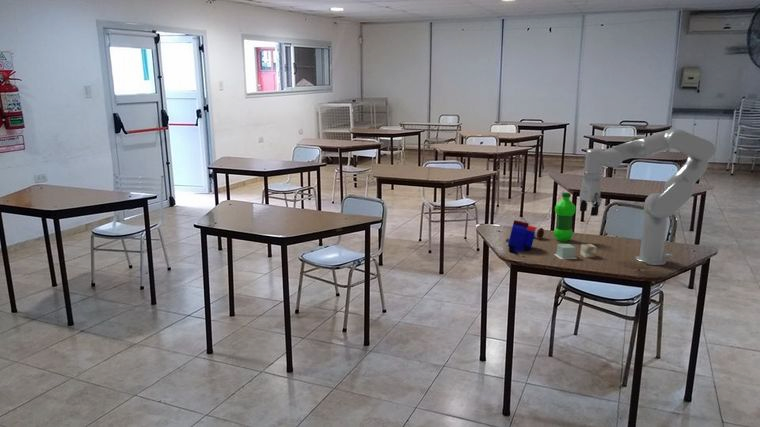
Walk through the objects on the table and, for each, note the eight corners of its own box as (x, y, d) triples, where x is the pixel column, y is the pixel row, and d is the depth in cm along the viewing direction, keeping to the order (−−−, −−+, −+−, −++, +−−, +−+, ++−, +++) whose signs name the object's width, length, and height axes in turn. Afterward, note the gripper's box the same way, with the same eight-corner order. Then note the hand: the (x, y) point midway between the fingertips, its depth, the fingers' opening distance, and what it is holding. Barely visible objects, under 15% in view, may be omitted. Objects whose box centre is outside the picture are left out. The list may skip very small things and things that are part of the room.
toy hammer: (516, 245, 287) (517, 233, 285) (498, 240, 296) (499, 228, 294) (544, 238, 300) (545, 226, 299) (526, 234, 309) (527, 222, 308)
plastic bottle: (575, 243, 290) (579, 195, 285) (554, 242, 291) (558, 194, 286) (570, 238, 300) (574, 191, 295) (550, 237, 301) (553, 191, 296)
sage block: (568, 254, 266) (569, 244, 265) (574, 258, 260) (575, 247, 259) (556, 254, 265) (557, 244, 264) (562, 258, 260) (562, 247, 258)
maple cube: (590, 254, 267) (591, 244, 266) (595, 257, 262) (596, 247, 261) (580, 254, 266) (581, 244, 265) (585, 257, 261) (586, 247, 260)
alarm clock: (508, 246, 284) (509, 217, 281) (533, 248, 281) (535, 218, 278) (507, 252, 272) (508, 222, 269) (533, 254, 269) (535, 224, 266)
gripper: (575, 173, 266) (571, 209, 269) (595, 179, 249) (590, 217, 253) (590, 173, 267) (586, 209, 271) (610, 179, 250) (606, 217, 254)
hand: (588, 213), depth 262 cm, fingers open, 9 cm apart
